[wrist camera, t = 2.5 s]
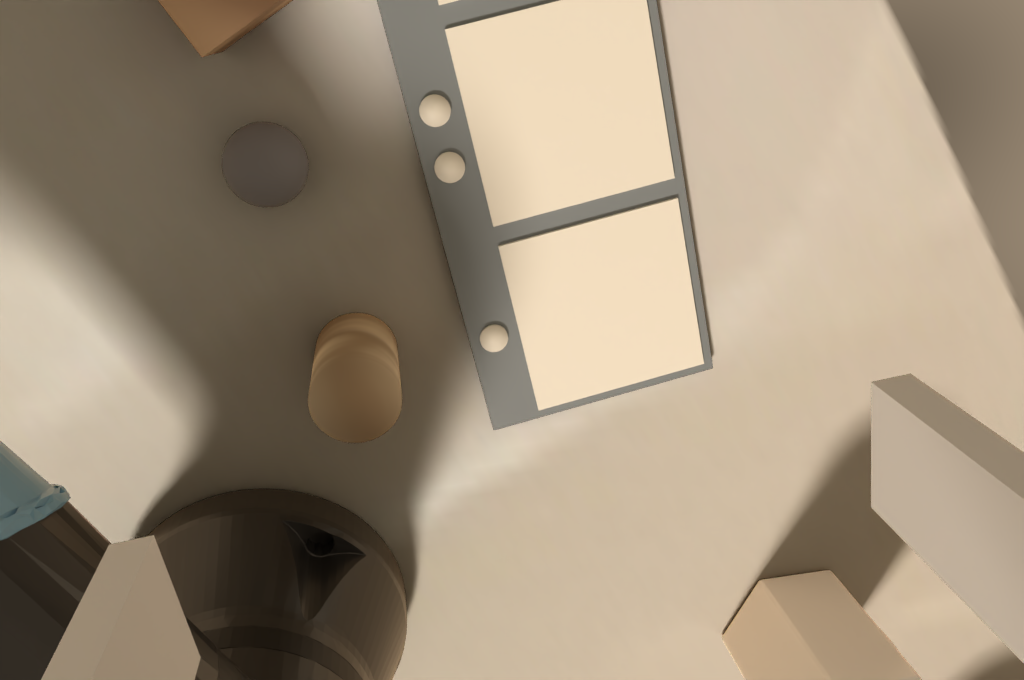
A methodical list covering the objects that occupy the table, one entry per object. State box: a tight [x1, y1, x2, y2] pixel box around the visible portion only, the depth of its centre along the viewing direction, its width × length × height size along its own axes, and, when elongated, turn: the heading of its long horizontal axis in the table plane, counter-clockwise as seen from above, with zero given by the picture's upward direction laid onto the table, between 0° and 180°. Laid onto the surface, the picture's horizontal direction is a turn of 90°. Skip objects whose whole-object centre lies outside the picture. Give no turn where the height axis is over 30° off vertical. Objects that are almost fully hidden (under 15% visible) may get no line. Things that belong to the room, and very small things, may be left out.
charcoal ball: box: [222, 122, 309, 207], centre depth 37 cm, size 4×4×4 cm
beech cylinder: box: [308, 313, 402, 443], centre depth 40 cm, size 4×4×6 cm
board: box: [377, 0, 713, 430], centre depth 39 cm, size 12×30×1 cm, turn 13°
